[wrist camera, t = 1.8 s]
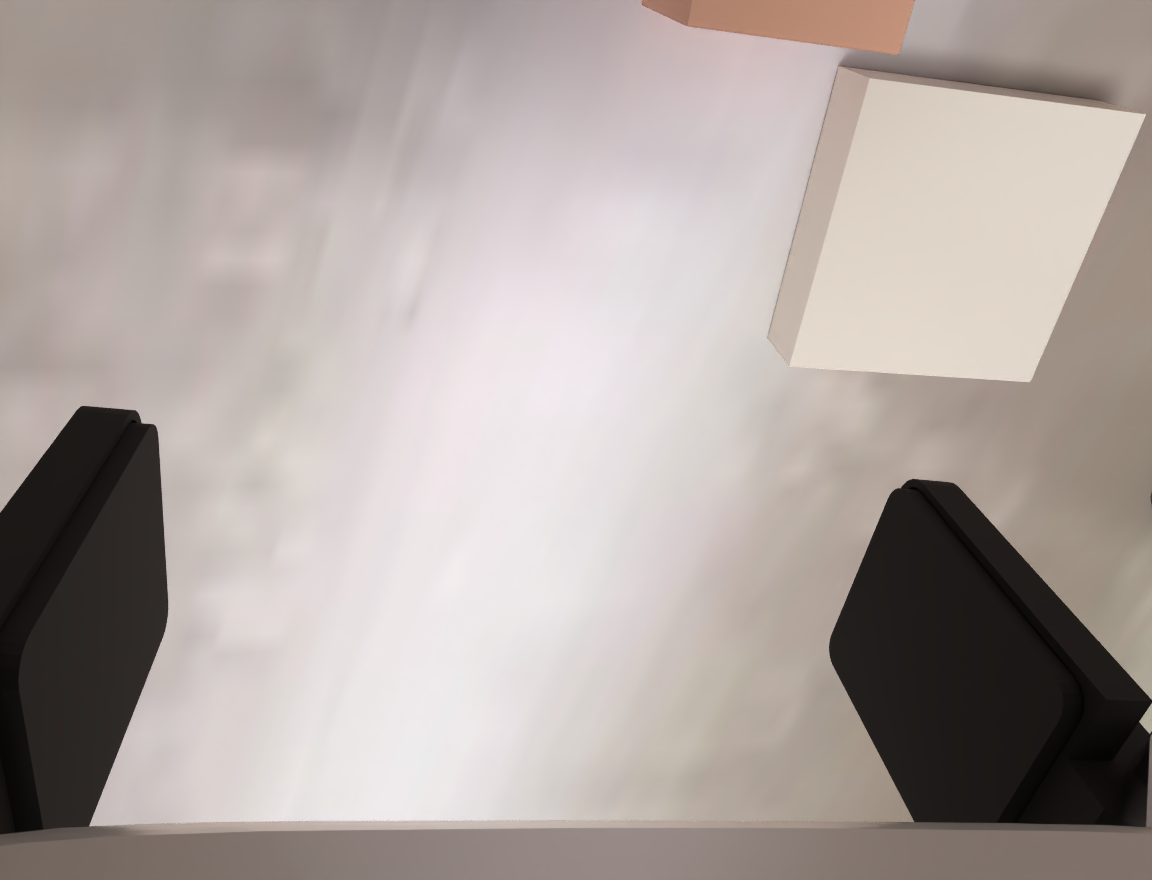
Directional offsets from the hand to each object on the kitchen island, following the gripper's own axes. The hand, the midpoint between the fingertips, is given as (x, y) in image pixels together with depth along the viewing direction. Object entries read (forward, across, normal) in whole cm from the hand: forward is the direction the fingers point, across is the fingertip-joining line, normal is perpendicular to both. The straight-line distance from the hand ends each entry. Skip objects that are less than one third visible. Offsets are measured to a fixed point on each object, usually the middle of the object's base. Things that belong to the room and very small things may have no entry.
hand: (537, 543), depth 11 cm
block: (+22, -17, 0) cm, 27 cm away
